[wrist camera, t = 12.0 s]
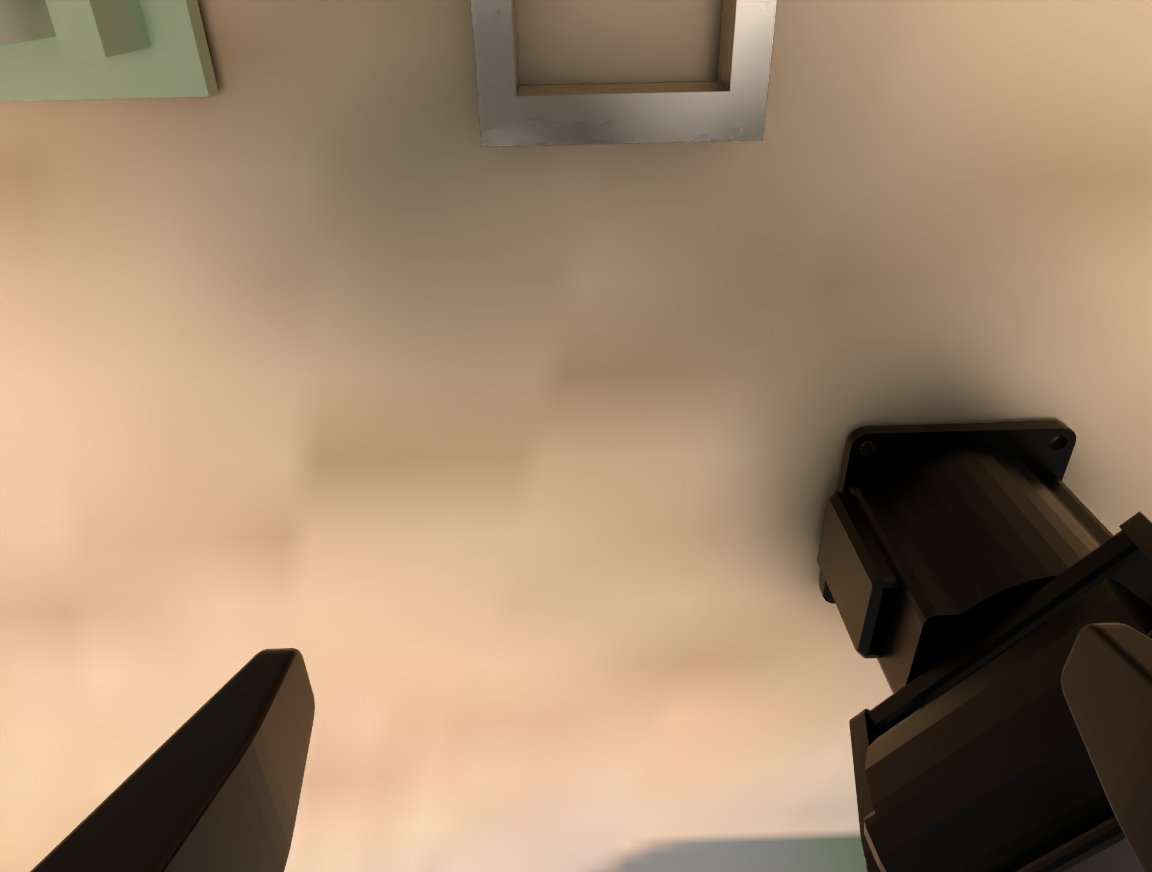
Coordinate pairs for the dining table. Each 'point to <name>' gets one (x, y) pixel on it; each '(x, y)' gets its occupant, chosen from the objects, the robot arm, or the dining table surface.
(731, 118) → the frame
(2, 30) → the long rectangular block
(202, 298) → the dining table surface
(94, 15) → the holder
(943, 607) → the robot arm
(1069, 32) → the dining table surface
